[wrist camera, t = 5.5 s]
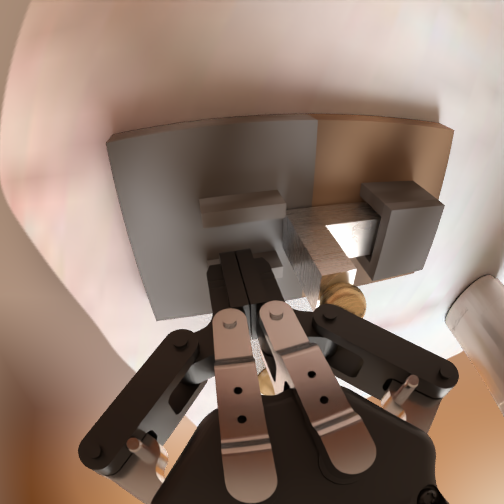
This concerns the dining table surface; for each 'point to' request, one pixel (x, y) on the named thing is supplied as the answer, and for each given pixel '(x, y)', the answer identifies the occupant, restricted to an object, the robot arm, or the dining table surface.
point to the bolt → (330, 251)
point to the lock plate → (272, 194)
